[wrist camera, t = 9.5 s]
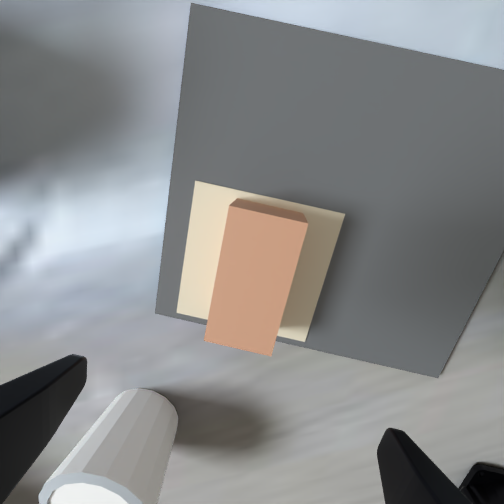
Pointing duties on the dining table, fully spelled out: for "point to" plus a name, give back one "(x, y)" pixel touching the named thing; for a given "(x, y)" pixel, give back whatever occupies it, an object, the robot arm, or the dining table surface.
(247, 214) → the flat block
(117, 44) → the dining table surface
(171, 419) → the white cup
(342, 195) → the rubber mat
